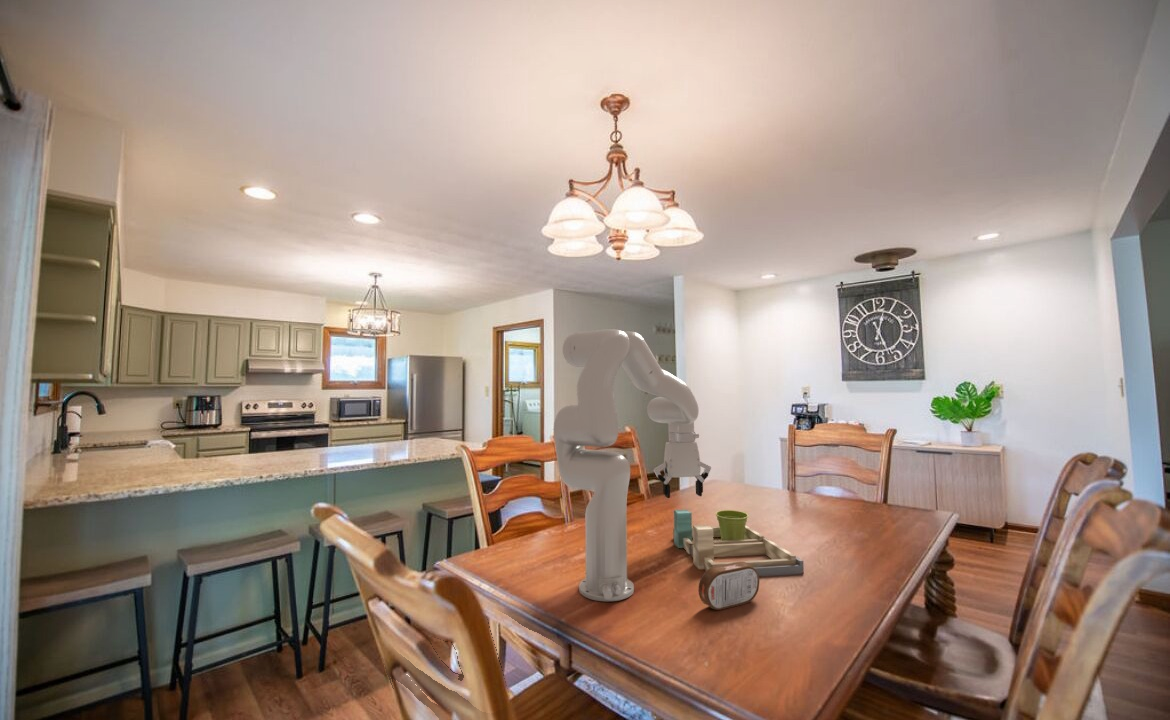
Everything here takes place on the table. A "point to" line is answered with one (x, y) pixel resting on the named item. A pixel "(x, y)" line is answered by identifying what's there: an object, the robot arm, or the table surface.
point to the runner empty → (735, 550)
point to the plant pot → (732, 524)
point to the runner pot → (685, 530)
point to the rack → (780, 569)
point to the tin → (728, 585)
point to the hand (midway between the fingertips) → (683, 496)
